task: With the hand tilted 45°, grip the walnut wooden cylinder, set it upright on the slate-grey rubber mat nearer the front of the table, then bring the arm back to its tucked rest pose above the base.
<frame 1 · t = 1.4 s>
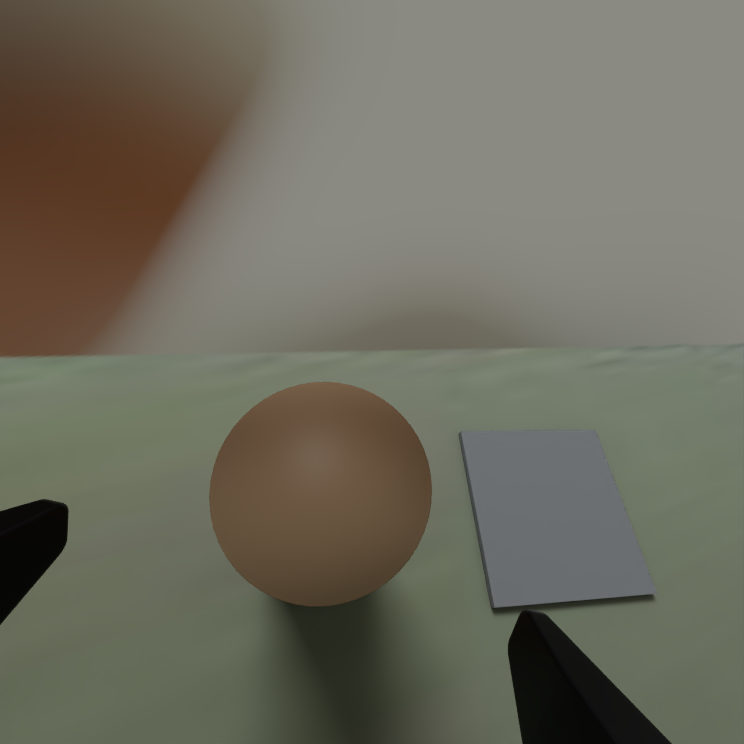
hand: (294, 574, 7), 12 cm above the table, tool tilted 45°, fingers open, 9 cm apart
slate mat: (548, 507, 21), on the table
walnut cylinder: (316, 539, 19), on the table
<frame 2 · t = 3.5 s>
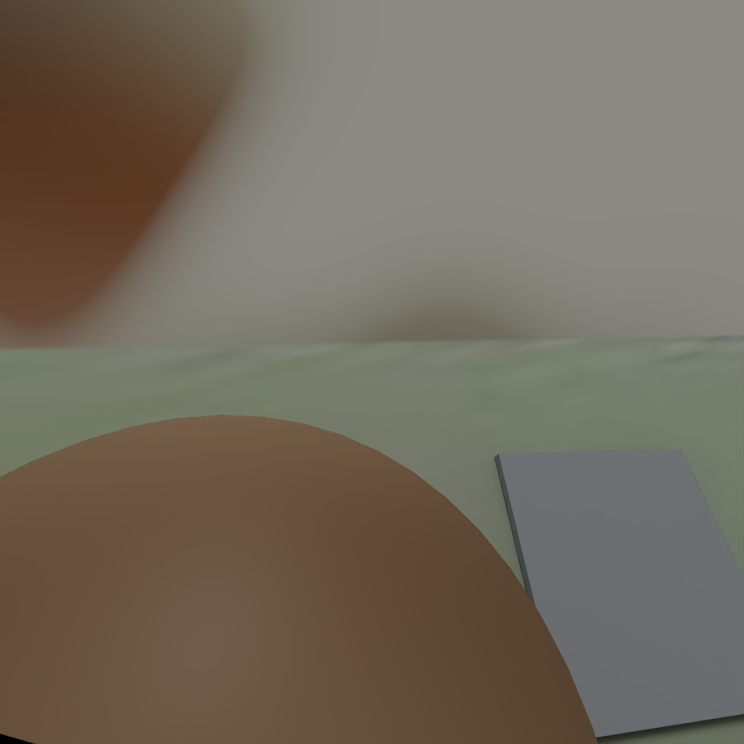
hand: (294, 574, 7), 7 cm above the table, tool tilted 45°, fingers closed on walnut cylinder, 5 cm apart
slate mat: (628, 566, 15), on the table
walnut cylinder: (289, 629, 12), on the table, touching gripper
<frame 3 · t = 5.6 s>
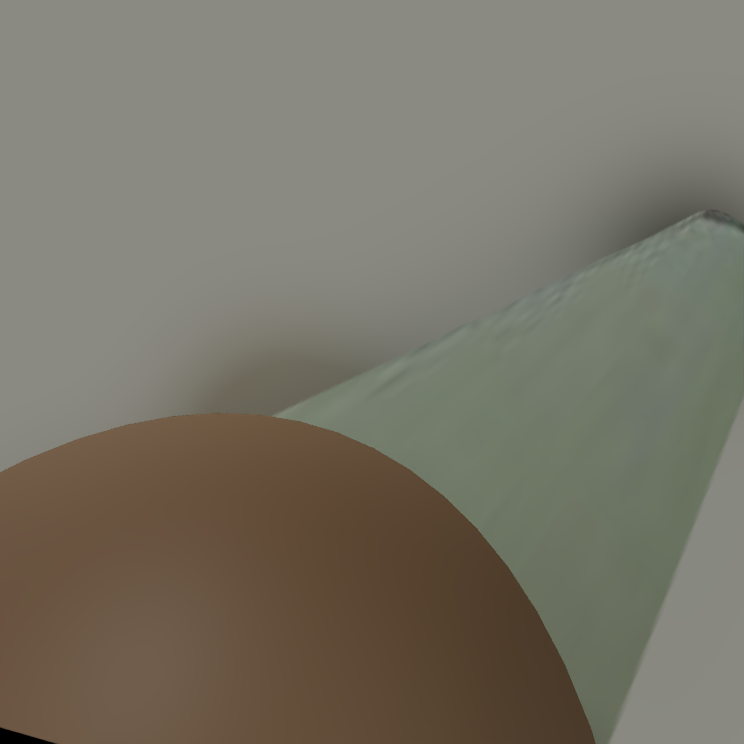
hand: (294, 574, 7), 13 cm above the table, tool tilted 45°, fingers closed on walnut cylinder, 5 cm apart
walnut cylinder: (288, 628, 12), point 6 cm above the table, touching gripper
when the fingers open (8 cm above the table, at t = 7.6 s): walnut cylinder drops 1 cm, resting on slate mat.
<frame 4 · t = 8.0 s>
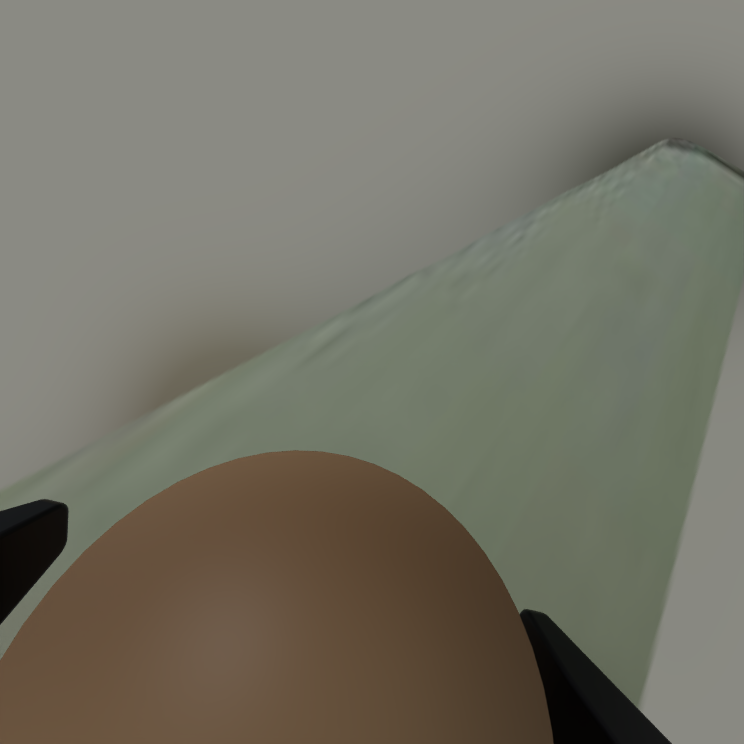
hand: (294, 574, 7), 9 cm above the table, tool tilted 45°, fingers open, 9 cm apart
walnut cylinder: (292, 627, 13), point 1 cm above the table, touching slate mat
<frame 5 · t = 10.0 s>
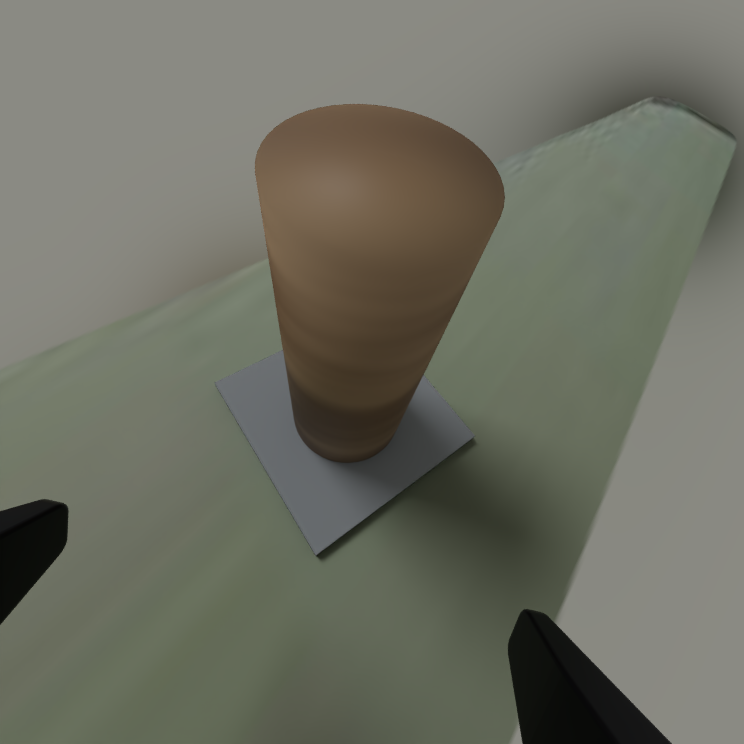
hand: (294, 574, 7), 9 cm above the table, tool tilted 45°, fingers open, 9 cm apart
slate mat: (345, 413, 18), on the table
walnut cylinder: (346, 411, 18), resting on slate mat
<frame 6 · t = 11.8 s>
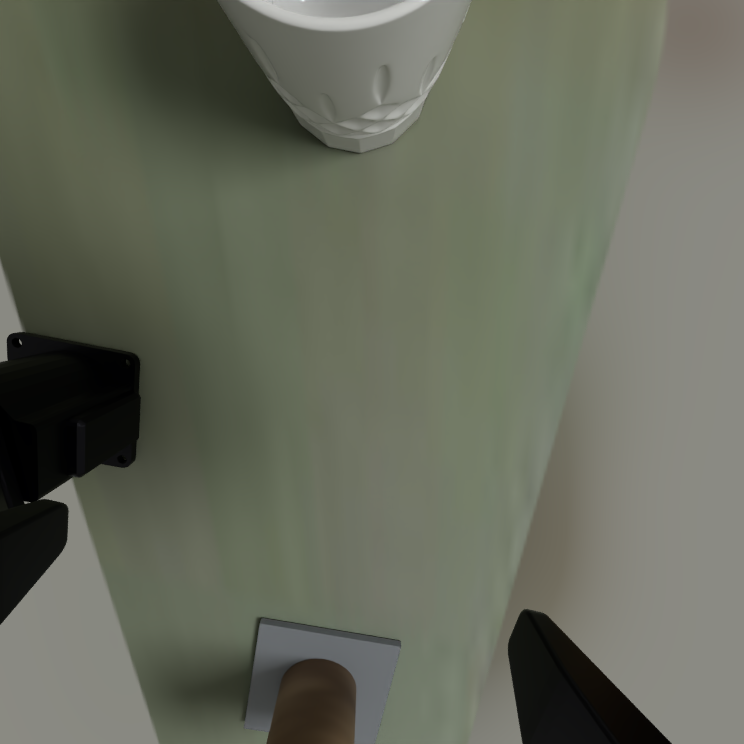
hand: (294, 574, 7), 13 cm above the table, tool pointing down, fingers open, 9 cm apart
slate mat: (320, 682, 25), on the table
walnut cylinder: (318, 689, 25), resting on slate mat
white cup: (357, 72, 17), on the table
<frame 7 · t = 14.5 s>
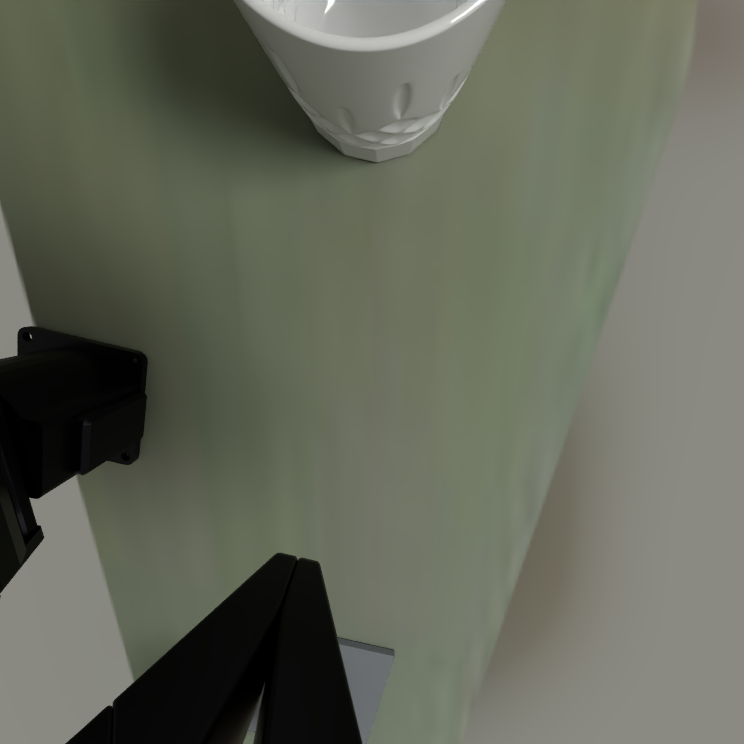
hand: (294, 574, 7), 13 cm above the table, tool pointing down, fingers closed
slate mat: (312, 687, 25), on the table
white cup: (377, 81, 17), on the table
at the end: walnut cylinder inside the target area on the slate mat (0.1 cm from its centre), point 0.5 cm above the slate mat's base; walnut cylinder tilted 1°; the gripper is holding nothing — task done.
